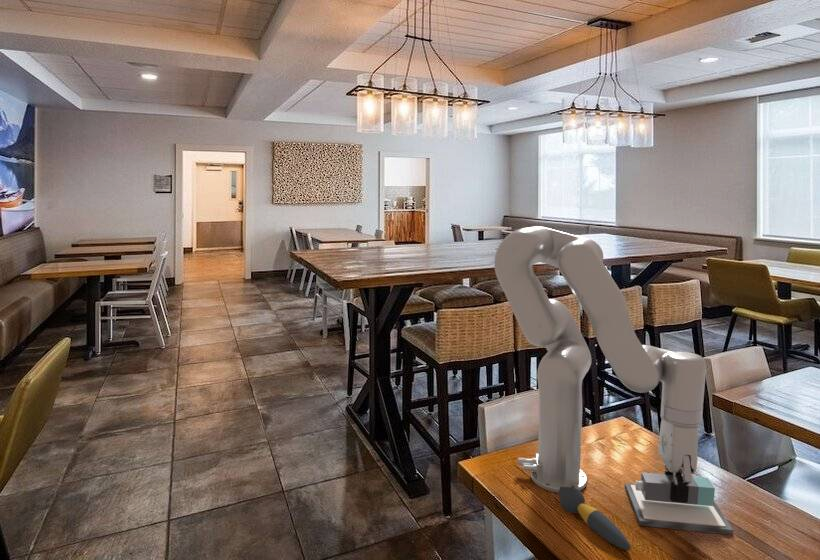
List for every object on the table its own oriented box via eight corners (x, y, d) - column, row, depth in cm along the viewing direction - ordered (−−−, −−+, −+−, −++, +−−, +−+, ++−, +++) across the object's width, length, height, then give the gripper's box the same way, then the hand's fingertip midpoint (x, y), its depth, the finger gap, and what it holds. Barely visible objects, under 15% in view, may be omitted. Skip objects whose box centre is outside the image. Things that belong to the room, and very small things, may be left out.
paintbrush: (642, 548, 96) (644, 523, 96) (625, 557, 94) (626, 532, 93) (563, 496, 113) (564, 475, 113) (547, 503, 111) (547, 482, 110)
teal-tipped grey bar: (638, 499, 107) (639, 481, 106) (633, 488, 111) (634, 471, 110) (713, 506, 104) (714, 488, 104) (706, 495, 108) (707, 477, 108)
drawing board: (639, 525, 103) (640, 519, 103) (624, 487, 116) (625, 482, 116) (732, 534, 99) (733, 528, 99) (706, 494, 113) (706, 489, 113)
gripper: (650, 396, 113) (646, 473, 116) (673, 429, 97) (667, 517, 100) (687, 398, 112) (681, 476, 115) (717, 432, 96) (709, 521, 99)
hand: (675, 494), depth 107 cm, fingers closed on teal-tipped grey bar, 3 cm apart
